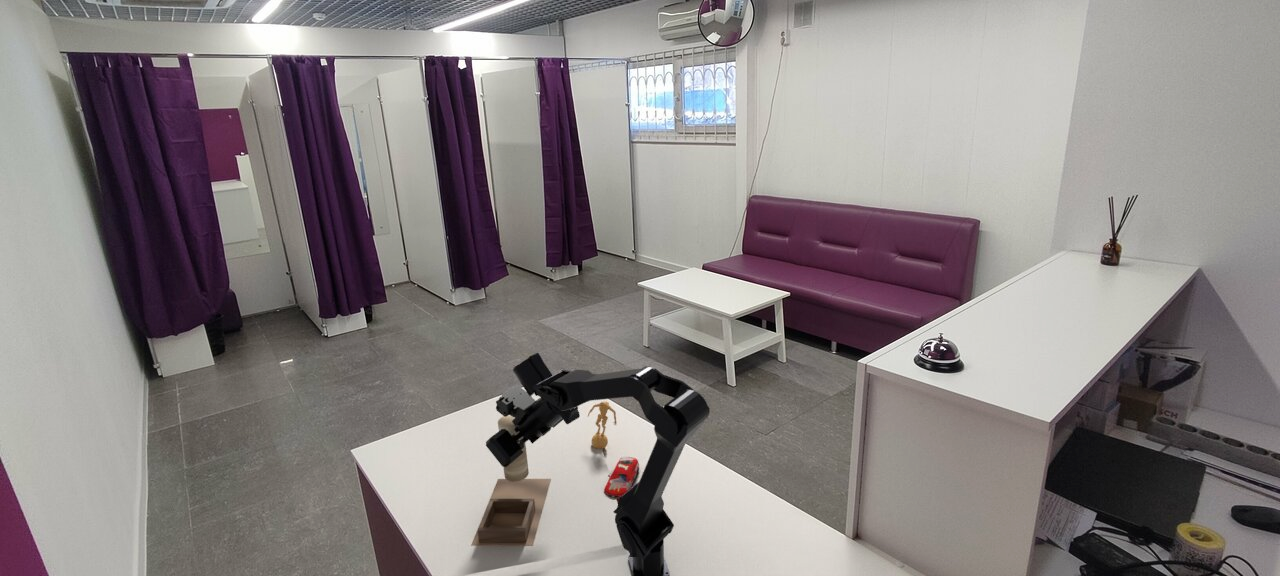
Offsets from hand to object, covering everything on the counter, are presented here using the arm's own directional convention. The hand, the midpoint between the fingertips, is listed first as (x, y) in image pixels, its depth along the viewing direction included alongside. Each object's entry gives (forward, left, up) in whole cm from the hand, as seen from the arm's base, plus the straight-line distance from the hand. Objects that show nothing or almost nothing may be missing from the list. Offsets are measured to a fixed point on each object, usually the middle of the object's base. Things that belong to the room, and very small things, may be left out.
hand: (508, 446), depth 122 cm
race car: (-1, -24, -14) cm, 27 cm away
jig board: (-5, 0, -13) cm, 14 cm away
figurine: (+14, -22, -14) cm, 29 cm away
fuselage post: (-1, -1, -6) cm, 7 cm away
